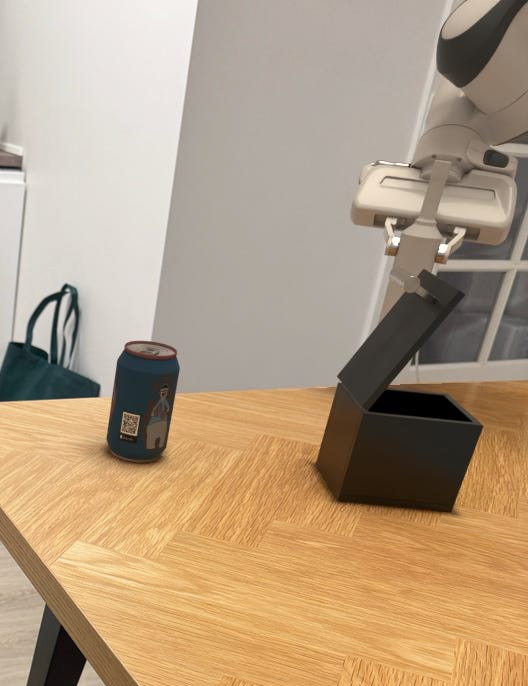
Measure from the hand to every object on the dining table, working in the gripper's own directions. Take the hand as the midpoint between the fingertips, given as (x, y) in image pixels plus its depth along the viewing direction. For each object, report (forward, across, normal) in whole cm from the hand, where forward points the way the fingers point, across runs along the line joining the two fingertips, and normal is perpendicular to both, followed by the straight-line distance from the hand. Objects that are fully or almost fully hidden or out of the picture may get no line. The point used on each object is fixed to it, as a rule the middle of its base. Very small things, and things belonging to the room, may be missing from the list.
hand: (415, 257), depth 117 cm
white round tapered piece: (+10, 0, +10) cm, 14 cm away
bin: (+37, +5, -9) cm, 38 cm away
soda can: (+42, -22, -14) cm, 50 cm away
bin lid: (+26, +2, -21) cm, 33 cm away
